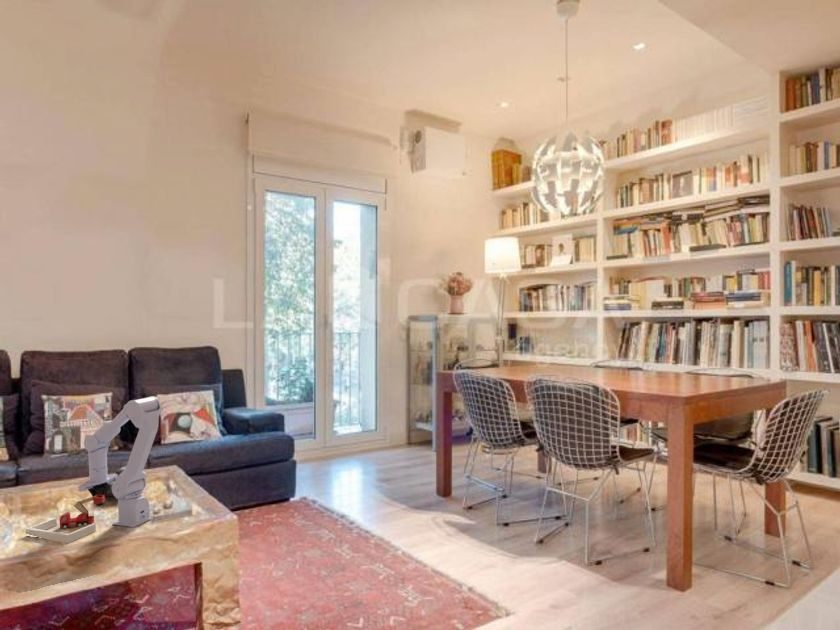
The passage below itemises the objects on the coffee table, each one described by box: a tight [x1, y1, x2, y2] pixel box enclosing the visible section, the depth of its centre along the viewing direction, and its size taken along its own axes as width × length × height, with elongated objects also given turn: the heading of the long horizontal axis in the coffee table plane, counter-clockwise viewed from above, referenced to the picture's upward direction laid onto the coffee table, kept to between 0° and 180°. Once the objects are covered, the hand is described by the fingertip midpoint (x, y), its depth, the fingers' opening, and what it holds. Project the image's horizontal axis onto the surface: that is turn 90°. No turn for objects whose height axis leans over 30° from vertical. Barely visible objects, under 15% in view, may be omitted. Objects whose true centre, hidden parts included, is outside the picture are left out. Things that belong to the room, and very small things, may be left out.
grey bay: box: [25, 517, 97, 544], centre depth 193 cm, size 19×10×2 cm, turn 70°
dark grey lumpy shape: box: [105, 465, 127, 497], centre depth 231 cm, size 15×12×14 cm
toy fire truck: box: [59, 494, 106, 530], centre depth 201 cm, size 3×14×10 cm, turn 105°
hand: (99, 505), depth 207 cm, fingers closed
